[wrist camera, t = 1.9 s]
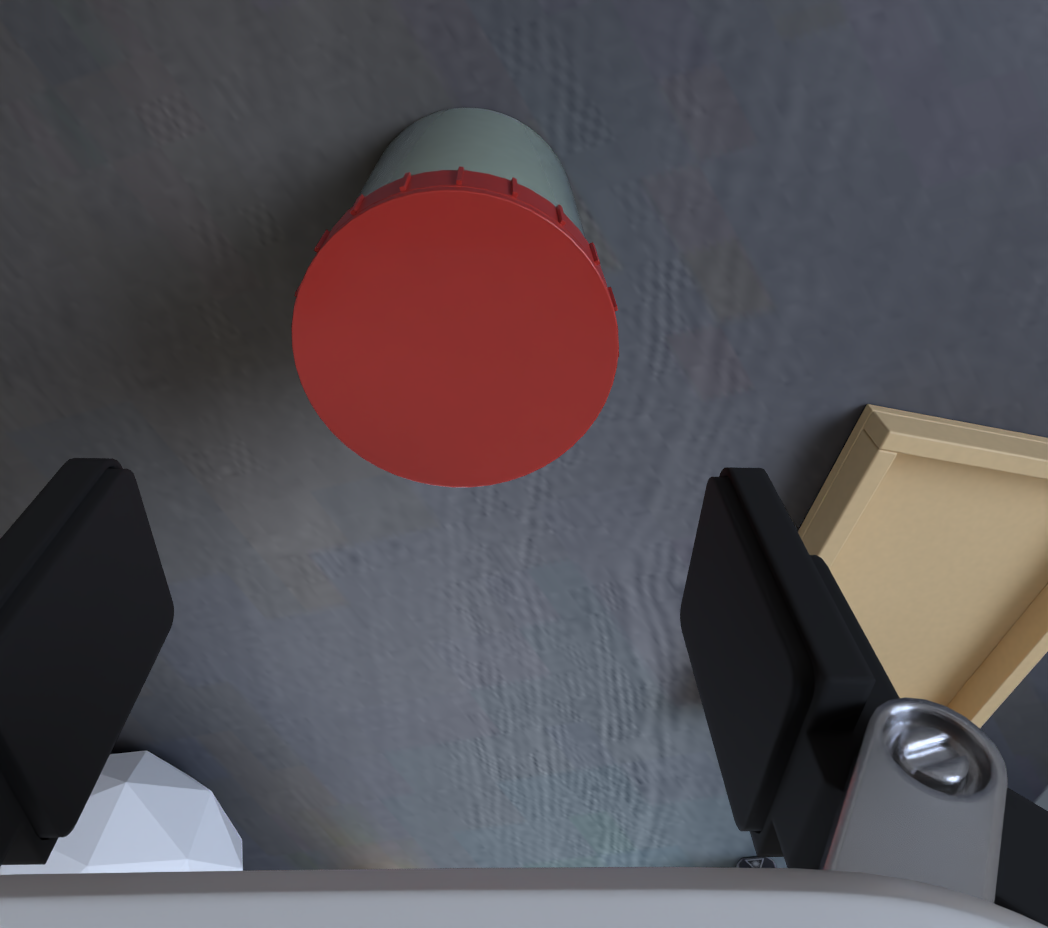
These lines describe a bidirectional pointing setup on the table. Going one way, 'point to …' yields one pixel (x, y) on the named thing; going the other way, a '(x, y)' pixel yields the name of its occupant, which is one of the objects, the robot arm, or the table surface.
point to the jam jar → (476, 154)
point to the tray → (940, 553)
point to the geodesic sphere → (144, 825)
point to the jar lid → (456, 329)
